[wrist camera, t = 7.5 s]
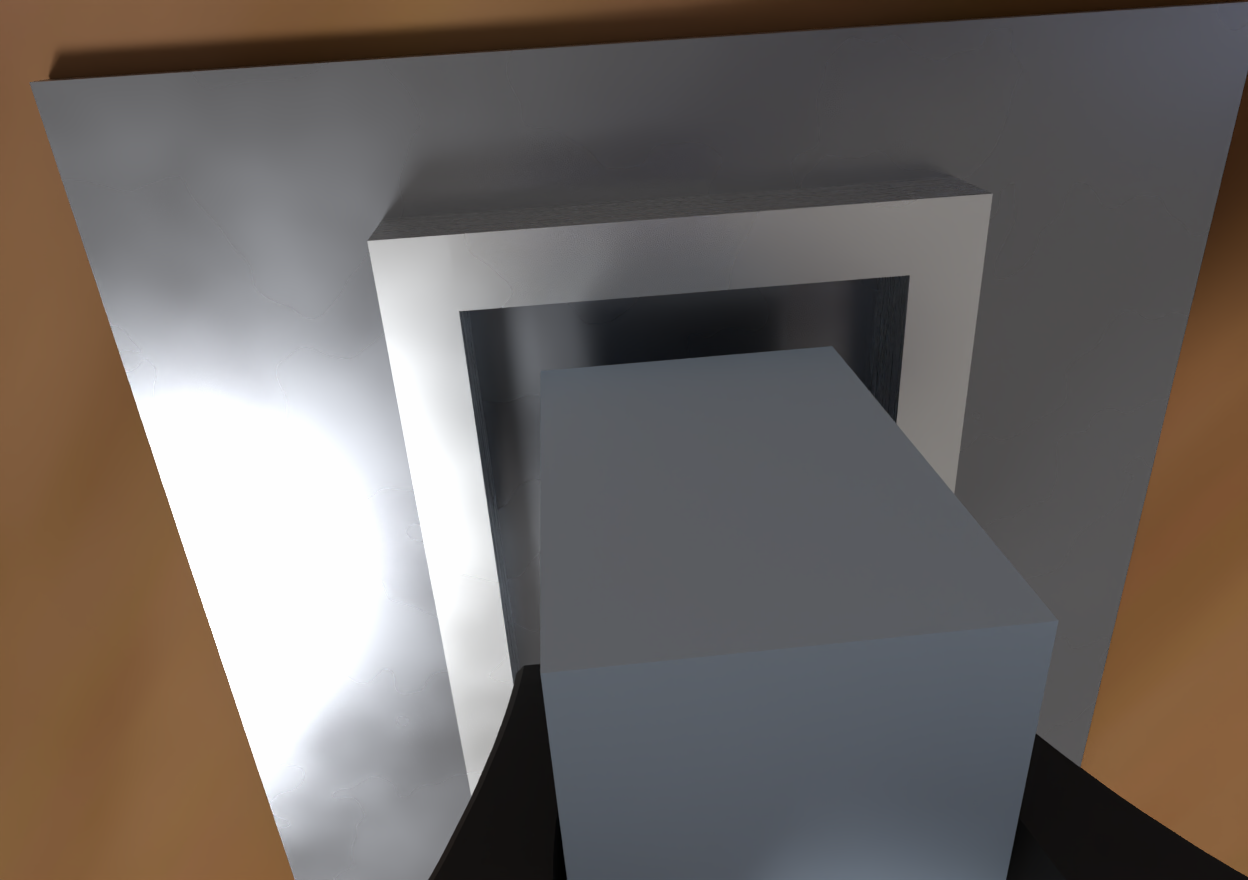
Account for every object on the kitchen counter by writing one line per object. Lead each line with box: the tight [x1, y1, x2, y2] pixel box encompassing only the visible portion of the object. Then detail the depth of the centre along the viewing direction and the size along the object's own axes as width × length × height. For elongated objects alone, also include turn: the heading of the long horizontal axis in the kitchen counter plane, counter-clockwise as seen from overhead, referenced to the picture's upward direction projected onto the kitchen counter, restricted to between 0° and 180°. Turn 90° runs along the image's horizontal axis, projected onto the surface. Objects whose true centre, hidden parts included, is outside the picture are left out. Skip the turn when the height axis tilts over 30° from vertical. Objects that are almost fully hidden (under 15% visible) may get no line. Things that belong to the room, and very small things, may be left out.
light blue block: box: [540, 346, 1058, 880], centre depth 11 cm, size 8×4×6 cm, turn 4°
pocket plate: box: [30, 1, 1248, 880], centre depth 14 cm, size 16×16×3 cm
